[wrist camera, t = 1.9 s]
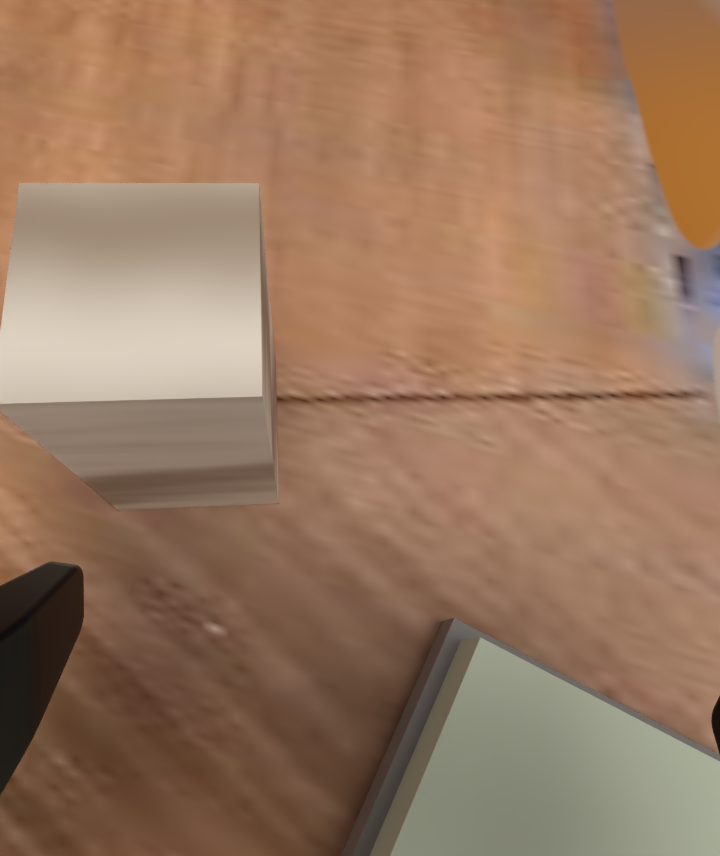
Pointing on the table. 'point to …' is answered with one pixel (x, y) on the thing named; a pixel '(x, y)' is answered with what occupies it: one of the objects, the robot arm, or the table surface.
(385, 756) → the base tile
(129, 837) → the table surface
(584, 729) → the top tile
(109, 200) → the tall block
